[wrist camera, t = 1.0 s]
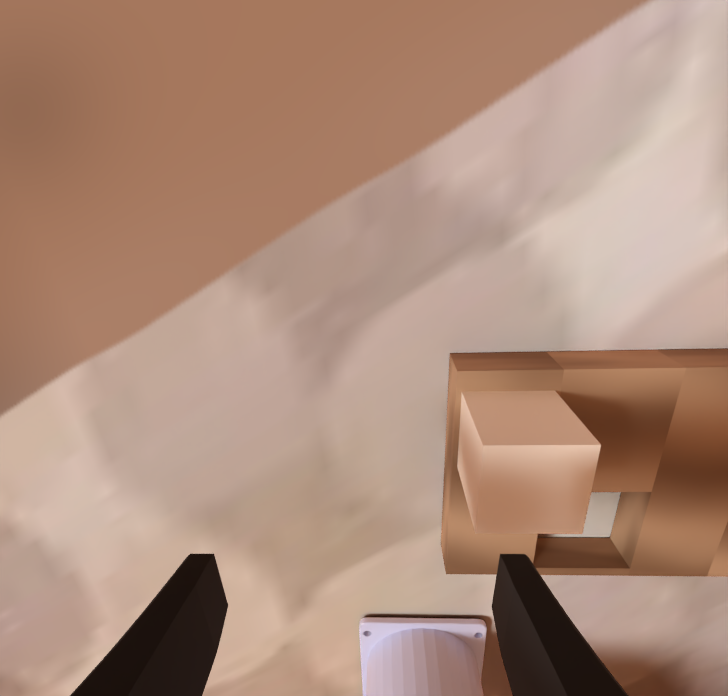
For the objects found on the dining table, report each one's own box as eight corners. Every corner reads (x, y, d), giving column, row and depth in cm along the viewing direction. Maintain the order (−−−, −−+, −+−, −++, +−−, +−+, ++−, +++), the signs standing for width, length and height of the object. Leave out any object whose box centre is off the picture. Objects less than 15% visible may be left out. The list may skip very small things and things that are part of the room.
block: (543, 466, 19) (582, 533, 15) (457, 466, 19) (475, 533, 16) (555, 390, 18) (601, 444, 14) (461, 391, 18) (483, 445, 14)
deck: (886, 545, 23) (1000, 627, 18) (441, 543, 24) (453, 619, 20) (1003, 343, 18) (1188, 391, 14) (449, 353, 19) (468, 399, 15)
